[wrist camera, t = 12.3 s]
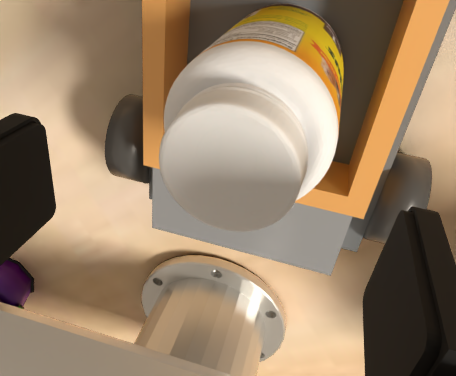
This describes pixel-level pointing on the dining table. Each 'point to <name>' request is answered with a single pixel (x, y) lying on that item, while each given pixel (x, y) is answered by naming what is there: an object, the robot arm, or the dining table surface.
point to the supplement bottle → (254, 119)
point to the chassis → (348, 126)
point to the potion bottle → (15, 283)
